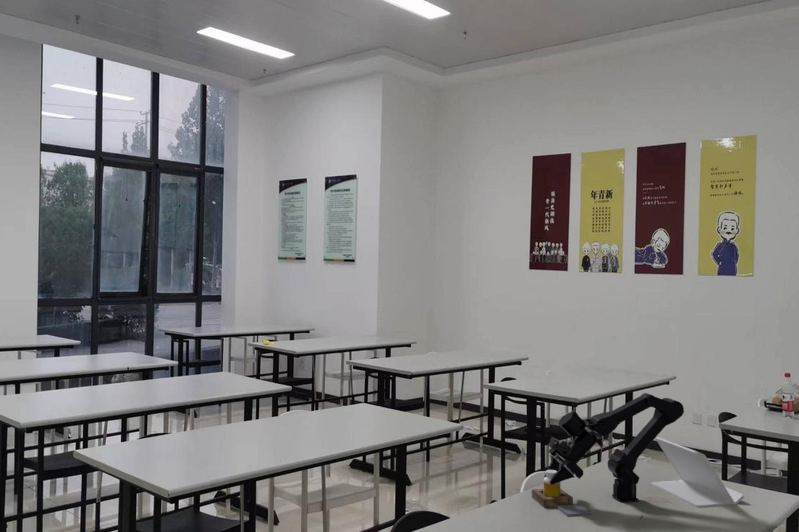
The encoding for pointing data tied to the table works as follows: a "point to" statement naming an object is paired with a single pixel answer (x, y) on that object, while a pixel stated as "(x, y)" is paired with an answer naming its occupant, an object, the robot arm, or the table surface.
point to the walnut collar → (551, 498)
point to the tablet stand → (695, 478)
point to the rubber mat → (574, 510)
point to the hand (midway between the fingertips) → (547, 480)
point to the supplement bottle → (551, 489)
